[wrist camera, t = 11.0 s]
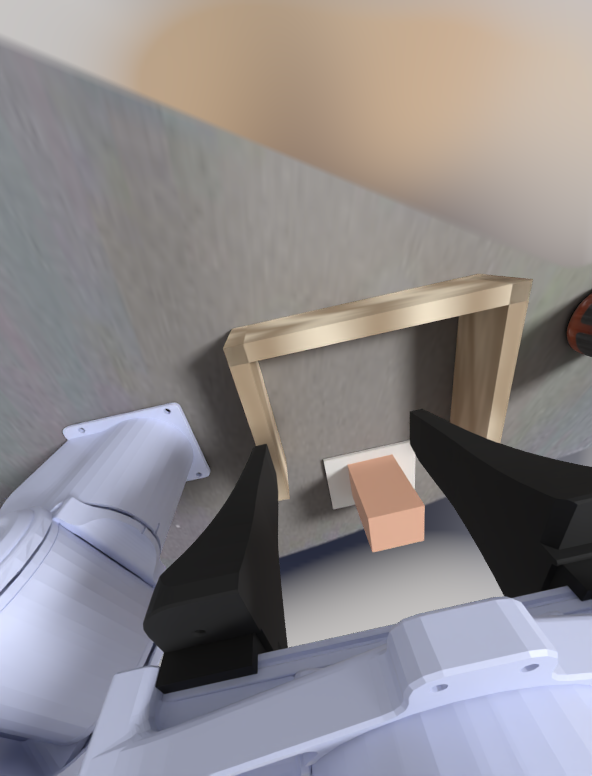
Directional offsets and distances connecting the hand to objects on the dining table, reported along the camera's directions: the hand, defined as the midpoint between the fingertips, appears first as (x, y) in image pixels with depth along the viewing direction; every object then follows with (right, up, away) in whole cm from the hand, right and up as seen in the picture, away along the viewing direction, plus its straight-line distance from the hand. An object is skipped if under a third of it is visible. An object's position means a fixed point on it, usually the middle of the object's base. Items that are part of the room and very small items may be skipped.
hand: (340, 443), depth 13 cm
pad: (+5, -6, +14) cm, 17 cm away
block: (+5, -6, +14) cm, 16 cm away
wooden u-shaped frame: (+3, +3, +9) cm, 10 cm away
